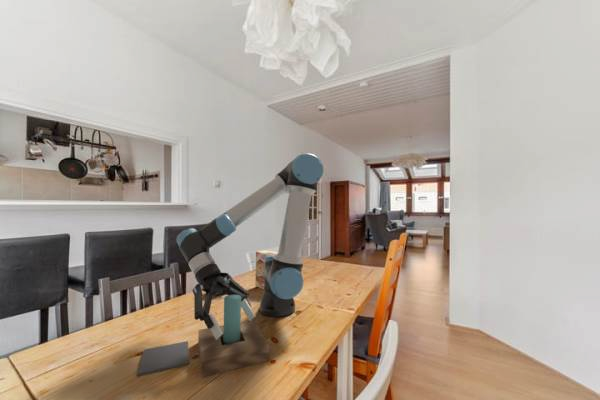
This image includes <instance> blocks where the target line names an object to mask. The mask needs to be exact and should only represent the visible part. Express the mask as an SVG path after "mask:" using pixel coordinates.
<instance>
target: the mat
mask: <svg viewBox="0 0 600 400" xmlns="http://www.w3.org/2000/svg"><path fill="white" fill-rule="evenodd" d="M183 366H189V340H187V341H181V342H175V343H171V344H165V345H161V346H155V347H154V346H153V347H150V348H145V349H143V351H142V356H141V359H140V362H139V365H138V370H137V372H136V377H139V376H143V375H147V374H152V373H157V372H161V371H165V370H169V369H175V368H180V367H183Z"/></svg>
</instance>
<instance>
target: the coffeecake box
mask: <svg viewBox="0 0 600 400" xmlns="http://www.w3.org/2000/svg"><path fill="white" fill-rule="evenodd" d="M276 254H278V251H271V250H268V249H267V250H266V249H263V250H257V251H255V286H256V287H259V288H258V289H260V288H262V289H261V290H263V289H264V272H265V264H264V262H265V257H266V256H270V255H276ZM256 287H255V288H256Z"/></svg>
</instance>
